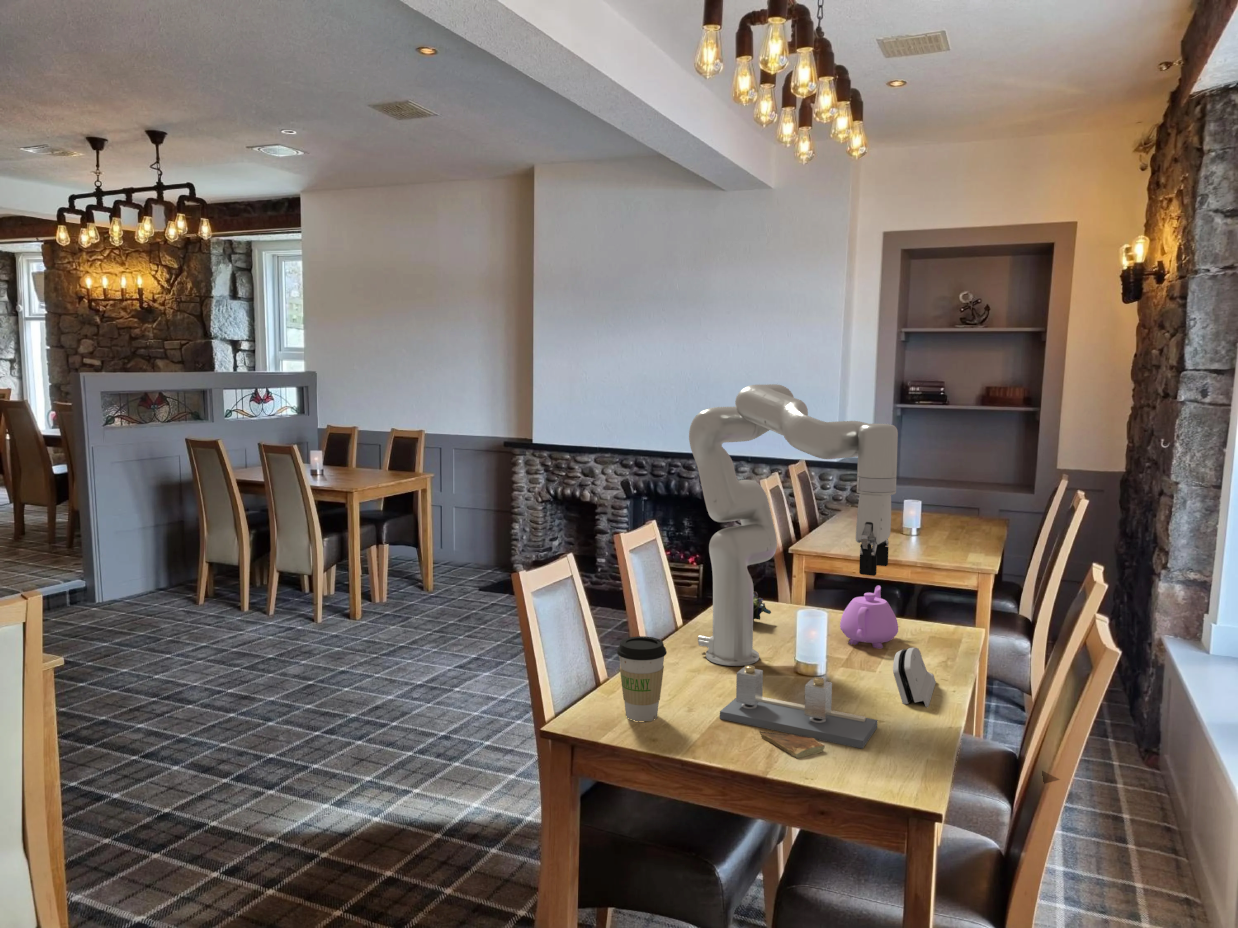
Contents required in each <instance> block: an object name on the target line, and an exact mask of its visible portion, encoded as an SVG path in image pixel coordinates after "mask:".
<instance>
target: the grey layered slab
mask: <svg viewBox="0 0 1238 928" xmlns="http://www.w3.org/2000/svg"><path fill="white" fill-rule="evenodd" d="M892 671H893V676H894V679H895V683H896V686H897V689H898V692H899V696H900V699H901V702H902V704H903V705H909V703H910V702H911V701H912V702H914V703H920V702H923V703H924V706H925V708H929V707H930V703H931V700H932V696H933V694H934V693H933V692H934V691H935V690H934V689H935V687H936V682H937V681H936V678H935V675H934V674H933V673H931V672H929V671H928V670H927V668H926V665H925V662H924V660H923V657H922V654H921V651H920V649H919V648H918V647H909V648H908V649H907V648H903V649H900V650H899V651H897V652H895V655H894V657H893V664H892Z"/></svg>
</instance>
